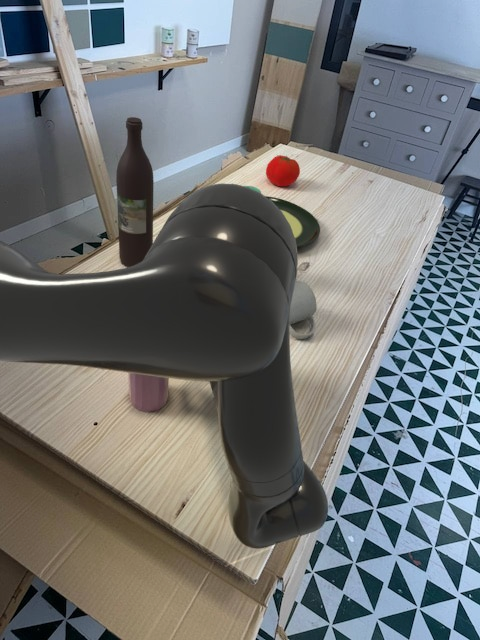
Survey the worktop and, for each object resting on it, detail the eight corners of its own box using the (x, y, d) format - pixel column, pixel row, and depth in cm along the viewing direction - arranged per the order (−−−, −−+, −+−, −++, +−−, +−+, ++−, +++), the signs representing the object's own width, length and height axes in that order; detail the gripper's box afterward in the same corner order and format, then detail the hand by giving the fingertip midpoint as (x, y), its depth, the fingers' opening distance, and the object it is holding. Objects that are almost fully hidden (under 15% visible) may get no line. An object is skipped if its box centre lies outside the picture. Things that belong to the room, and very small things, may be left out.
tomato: (261, 176, 146) (265, 150, 141) (292, 178, 149) (297, 152, 143) (267, 189, 140) (272, 162, 134) (300, 191, 142) (306, 164, 136)
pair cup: (134, 415, 71) (133, 370, 65) (125, 387, 75) (123, 342, 69) (172, 406, 73) (175, 362, 67) (161, 379, 77) (163, 334, 71)
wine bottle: (113, 258, 102) (105, 115, 83) (139, 248, 106) (138, 111, 87) (132, 273, 99) (129, 128, 79) (159, 262, 103) (162, 123, 84)
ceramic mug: (257, 314, 94) (264, 284, 89) (288, 302, 98) (296, 273, 93) (292, 347, 88) (301, 316, 83) (322, 333, 92) (333, 303, 87)
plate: (195, 236, 113) (195, 227, 112) (233, 193, 134) (234, 185, 133) (305, 269, 109) (308, 260, 107) (327, 219, 130) (329, 211, 128)
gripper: (297, 366, 62) (262, 290, 74) (189, 376, 58) (171, 294, 70) (286, 403, 66) (255, 326, 79) (186, 414, 63) (170, 331, 75)
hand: (216, 311), depth 74 cm, fingers closed on front cup, 6 cm apart
